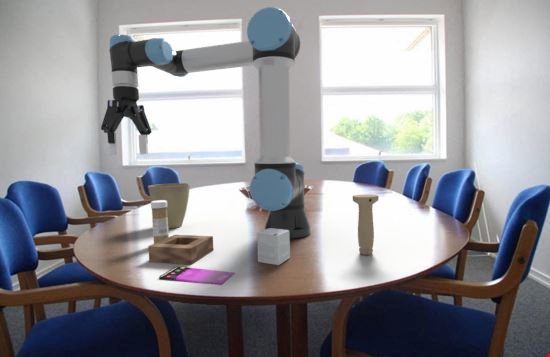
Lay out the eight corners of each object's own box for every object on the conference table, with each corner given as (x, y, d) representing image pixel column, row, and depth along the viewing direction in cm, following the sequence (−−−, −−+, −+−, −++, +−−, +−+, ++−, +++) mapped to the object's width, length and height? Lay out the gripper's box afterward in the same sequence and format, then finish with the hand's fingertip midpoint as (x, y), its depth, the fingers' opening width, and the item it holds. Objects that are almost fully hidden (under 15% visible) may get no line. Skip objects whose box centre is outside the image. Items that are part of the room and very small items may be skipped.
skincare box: (270, 255, 86) (269, 227, 86) (290, 258, 83) (289, 229, 83) (257, 262, 81) (256, 232, 81) (278, 265, 78) (277, 235, 78)
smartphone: (177, 269, 79) (177, 265, 79) (235, 274, 74) (235, 270, 74) (158, 280, 72) (158, 276, 72) (221, 287, 68) (221, 282, 67)
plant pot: (200, 224, 127) (198, 183, 126) (169, 232, 115) (166, 187, 114) (173, 221, 135) (171, 182, 134) (142, 228, 123) (139, 186, 122)
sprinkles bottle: (169, 242, 102) (166, 199, 101) (169, 246, 98) (167, 201, 97) (153, 244, 100) (150, 200, 99) (153, 248, 96) (150, 202, 95)
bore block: (213, 250, 92) (212, 236, 92) (191, 264, 81) (190, 248, 80) (175, 248, 95) (174, 234, 95) (149, 261, 84) (148, 246, 84)
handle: (382, 255, 83) (382, 196, 82) (359, 257, 82) (358, 197, 81) (372, 249, 88) (371, 194, 87) (350, 252, 87) (349, 195, 85)
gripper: (141, 94, 118) (145, 154, 120) (83, 80, 94) (89, 155, 96) (159, 93, 116) (163, 153, 118) (105, 78, 92) (110, 154, 94)
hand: (130, 154), depth 107 cm, fingers open, 13 cm apart
